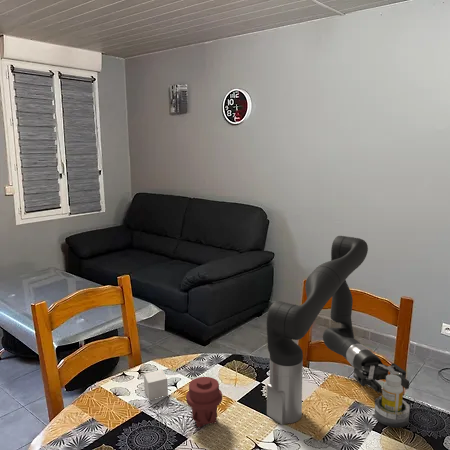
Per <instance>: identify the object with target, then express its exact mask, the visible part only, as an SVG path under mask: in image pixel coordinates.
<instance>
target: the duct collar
mask: <svg viewBox="0 0 450 450" xmlns="http://www.w3.org/2000/svg"><path fill="white" fill-rule="evenodd" d="M374 401H375V402H374V418H375V419H376V420H377V421H378V423H380V424H382V425H384V426H386V427H390V428H395V429H399V428H404V427H406V426H408V425H409V422H410V409H411V407H410V405H409V403H407V401H406V400H404V399H402V411H401V412H396V413H395V412H390V411H387V410H385V409H383V408H382V395H380V396H377V397H376V398H375V399H374Z"/></svg>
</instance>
